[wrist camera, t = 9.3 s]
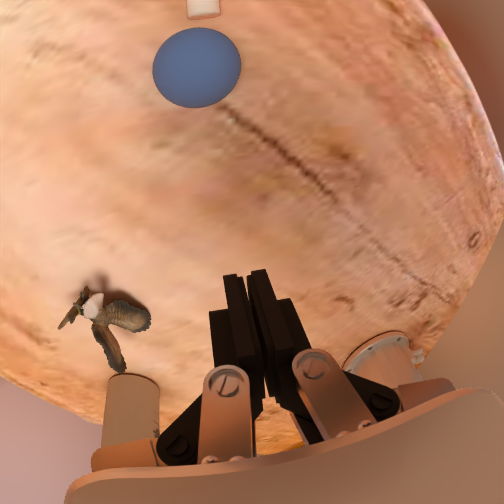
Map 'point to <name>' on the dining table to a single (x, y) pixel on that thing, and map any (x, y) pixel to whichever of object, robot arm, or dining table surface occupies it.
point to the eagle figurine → (106, 315)
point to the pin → (202, 9)
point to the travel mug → (130, 410)
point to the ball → (196, 67)
